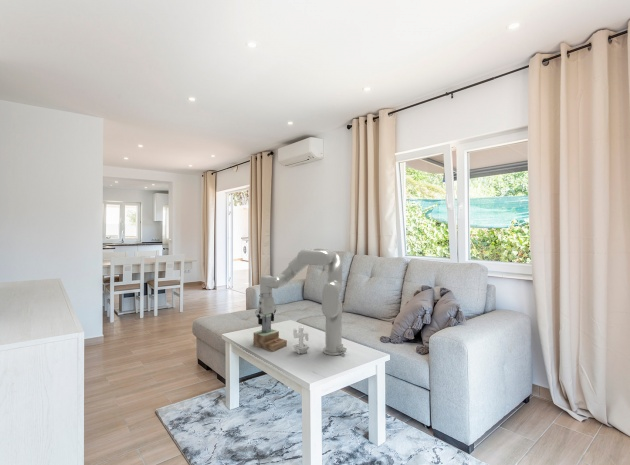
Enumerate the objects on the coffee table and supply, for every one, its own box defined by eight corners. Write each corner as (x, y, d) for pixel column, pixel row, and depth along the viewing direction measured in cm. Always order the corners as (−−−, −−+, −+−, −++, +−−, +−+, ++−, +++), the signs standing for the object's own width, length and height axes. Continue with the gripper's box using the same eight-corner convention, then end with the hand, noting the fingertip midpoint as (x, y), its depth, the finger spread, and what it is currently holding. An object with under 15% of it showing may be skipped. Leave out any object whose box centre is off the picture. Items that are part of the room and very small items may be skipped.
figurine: (311, 352, 195) (311, 327, 195) (296, 355, 190) (296, 329, 190) (305, 348, 201) (305, 324, 201) (291, 351, 196) (291, 326, 196)
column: (271, 331, 209) (271, 312, 209) (266, 333, 206) (266, 313, 205) (266, 330, 211) (266, 311, 211) (261, 332, 208) (261, 312, 208)
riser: (286, 346, 206) (286, 333, 206) (272, 351, 196) (272, 338, 196) (267, 340, 216) (267, 328, 216) (253, 345, 207) (253, 332, 207)
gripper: (259, 298, 199) (259, 327, 199) (280, 293, 212) (280, 320, 213) (251, 296, 204) (251, 324, 204) (272, 292, 217) (272, 318, 217)
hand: (266, 322), depth 208 cm, fingers open, 9 cm apart
